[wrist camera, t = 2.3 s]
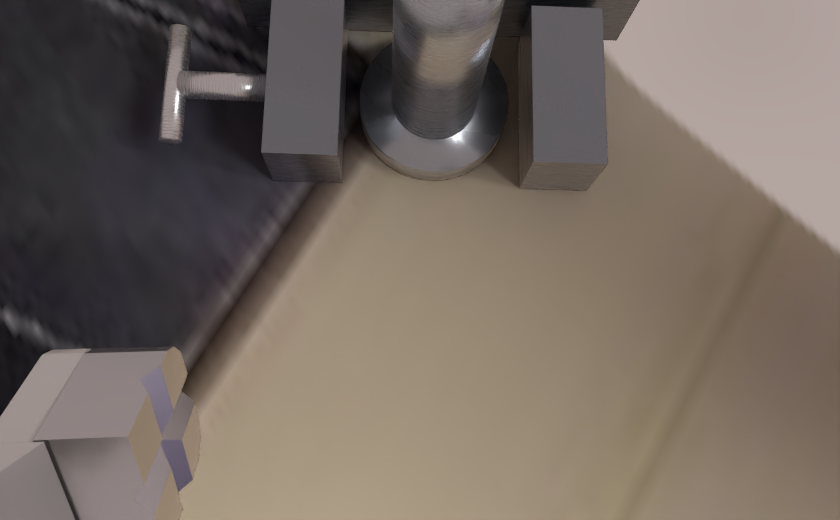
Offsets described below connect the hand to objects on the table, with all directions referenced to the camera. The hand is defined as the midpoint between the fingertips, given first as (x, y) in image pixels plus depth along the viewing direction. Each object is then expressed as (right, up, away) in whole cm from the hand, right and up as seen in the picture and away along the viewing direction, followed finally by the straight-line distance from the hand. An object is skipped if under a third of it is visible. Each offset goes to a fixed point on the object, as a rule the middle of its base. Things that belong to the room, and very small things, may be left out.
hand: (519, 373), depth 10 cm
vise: (-2, +9, +22) cm, 23 cm away
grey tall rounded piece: (-1, +7, +21) cm, 23 cm away
